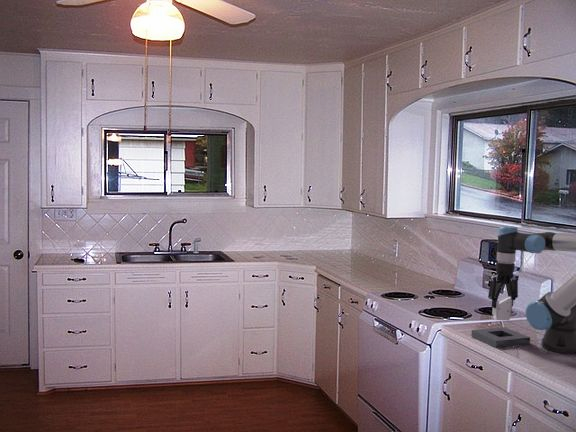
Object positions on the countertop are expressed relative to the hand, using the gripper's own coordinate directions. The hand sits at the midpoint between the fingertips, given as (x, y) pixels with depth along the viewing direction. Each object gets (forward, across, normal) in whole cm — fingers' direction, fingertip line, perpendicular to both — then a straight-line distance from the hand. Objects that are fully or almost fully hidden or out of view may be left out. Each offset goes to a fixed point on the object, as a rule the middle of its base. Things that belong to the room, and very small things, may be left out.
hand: (501, 314), depth 266 cm
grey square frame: (+12, 0, 0) cm, 12 cm away
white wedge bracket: (+2, 0, 0) cm, 2 cm away
